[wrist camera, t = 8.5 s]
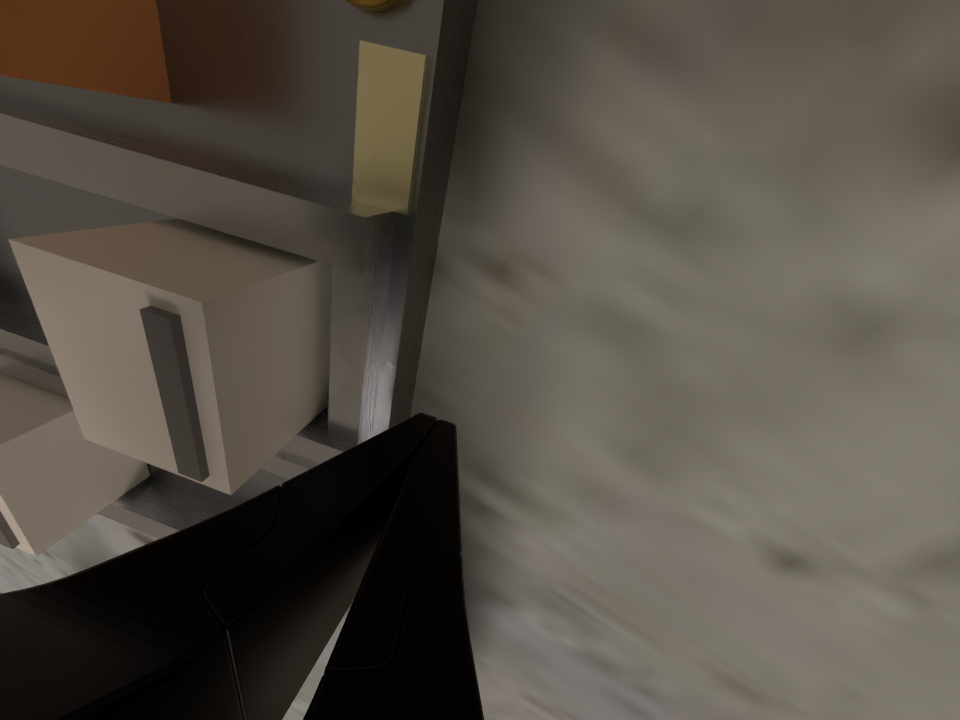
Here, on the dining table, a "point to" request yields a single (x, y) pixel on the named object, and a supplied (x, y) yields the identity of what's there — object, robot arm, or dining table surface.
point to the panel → (259, 190)
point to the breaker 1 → (52, 468)
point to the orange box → (85, 45)
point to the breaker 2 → (183, 342)
